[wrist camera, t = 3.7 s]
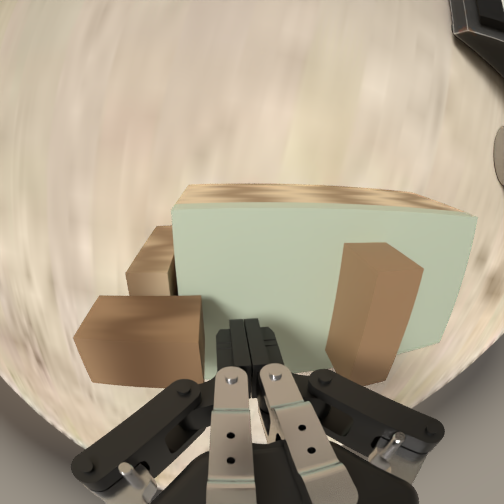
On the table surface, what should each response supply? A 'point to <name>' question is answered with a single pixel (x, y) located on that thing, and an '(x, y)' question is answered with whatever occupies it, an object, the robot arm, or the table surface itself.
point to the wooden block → (143, 340)
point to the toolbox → (161, 240)
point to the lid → (324, 278)
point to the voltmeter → (481, 28)
